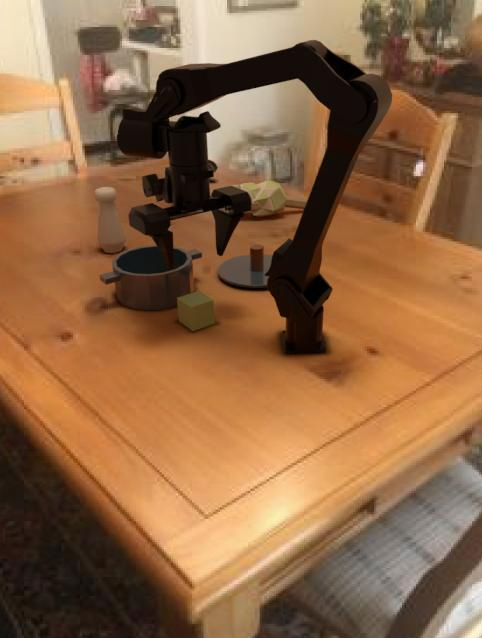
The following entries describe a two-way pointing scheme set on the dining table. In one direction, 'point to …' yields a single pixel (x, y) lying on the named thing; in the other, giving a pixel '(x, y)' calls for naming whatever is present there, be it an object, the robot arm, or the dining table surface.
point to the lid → (247, 269)
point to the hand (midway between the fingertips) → (195, 262)
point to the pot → (151, 277)
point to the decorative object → (270, 198)
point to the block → (196, 310)
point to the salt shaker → (109, 221)
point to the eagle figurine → (212, 167)
